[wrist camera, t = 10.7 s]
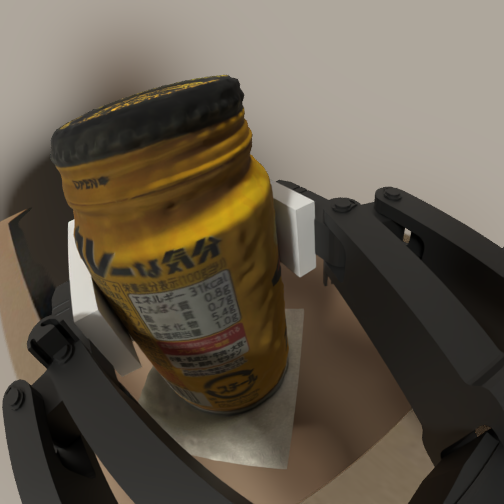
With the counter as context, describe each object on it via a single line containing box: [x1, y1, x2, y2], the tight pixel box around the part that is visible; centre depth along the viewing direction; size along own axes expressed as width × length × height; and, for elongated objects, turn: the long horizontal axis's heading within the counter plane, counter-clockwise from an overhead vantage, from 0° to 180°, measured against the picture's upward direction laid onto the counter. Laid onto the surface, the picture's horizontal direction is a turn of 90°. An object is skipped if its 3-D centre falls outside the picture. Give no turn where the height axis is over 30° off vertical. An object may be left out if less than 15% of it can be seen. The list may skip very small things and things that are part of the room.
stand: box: [95, 255, 412, 504], centre depth 16 cm, size 20×14×5 cm
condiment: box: [50, 75, 304, 469], centre depth 9 cm, size 7×8×12 cm
